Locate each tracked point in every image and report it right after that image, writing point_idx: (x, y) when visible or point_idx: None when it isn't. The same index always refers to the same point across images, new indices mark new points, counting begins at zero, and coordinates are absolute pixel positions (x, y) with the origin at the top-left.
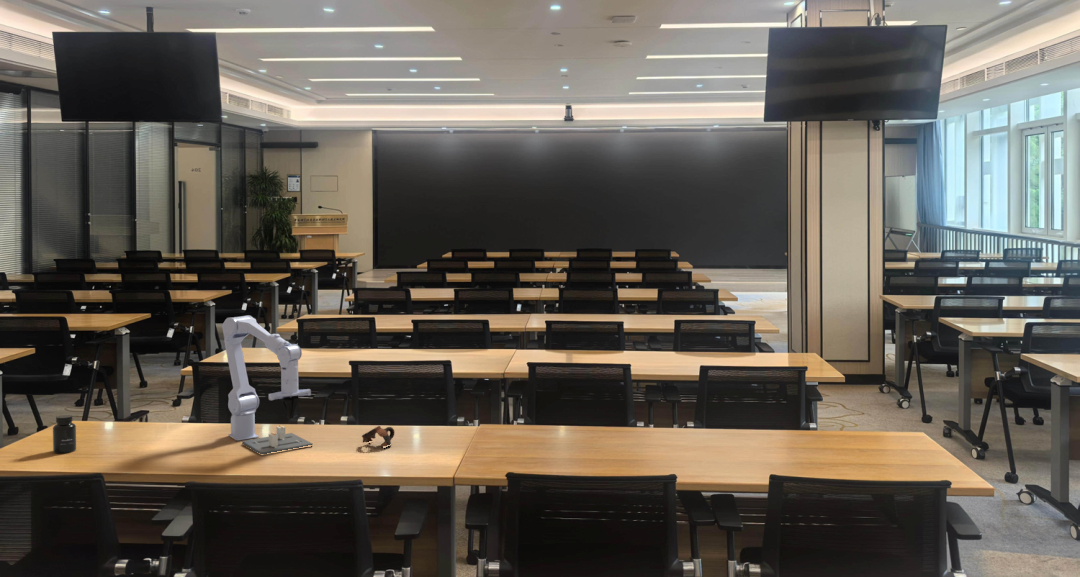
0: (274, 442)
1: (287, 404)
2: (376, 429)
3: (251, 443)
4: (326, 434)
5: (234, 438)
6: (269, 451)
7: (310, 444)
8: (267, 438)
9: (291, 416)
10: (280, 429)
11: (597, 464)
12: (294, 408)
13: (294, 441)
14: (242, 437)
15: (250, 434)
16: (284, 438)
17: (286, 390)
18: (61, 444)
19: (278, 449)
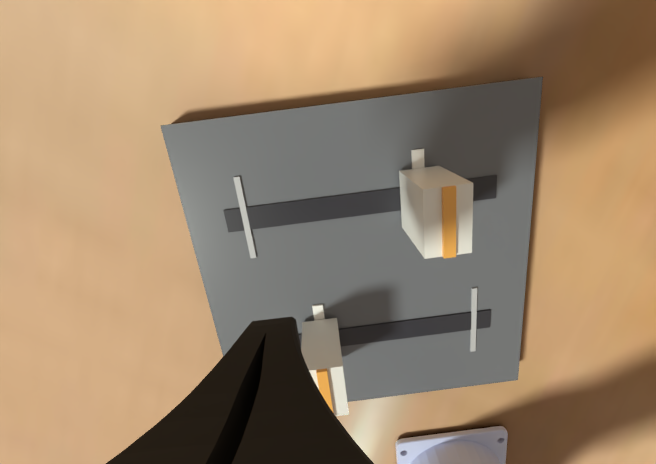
0: (431, 172)
1: (344, 448)
2: None
3: (500, 315)
4: (47, 357)
5: (505, 455)
6: (484, 84)
7: (178, 123)
8: (388, 370)
9: (269, 326)
10: (336, 359)
11: None
12: (203, 395)
13: (266, 239)
14: (479, 446)
15: (444, 456)
16: (308, 321)
17: None
18: None
19: (419, 93)
